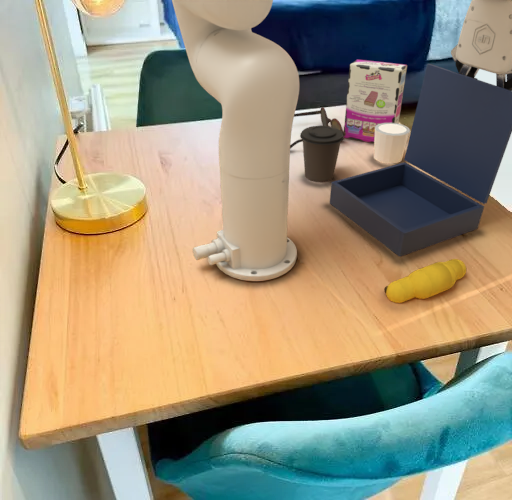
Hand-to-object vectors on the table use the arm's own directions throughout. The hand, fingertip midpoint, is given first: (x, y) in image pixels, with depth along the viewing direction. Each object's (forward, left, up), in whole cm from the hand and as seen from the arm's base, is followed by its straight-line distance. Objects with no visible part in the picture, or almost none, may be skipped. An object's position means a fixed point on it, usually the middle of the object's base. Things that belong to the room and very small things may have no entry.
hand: (478, 108), depth 81 cm
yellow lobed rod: (-23, -17, -17) cm, 33 cm away
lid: (-4, 0, -3) cm, 5 cm away
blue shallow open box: (-13, 0, -17) cm, 21 cm away
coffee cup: (-17, +19, -17) cm, 31 cm away
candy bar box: (+4, +30, -17) cm, 35 cm away
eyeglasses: (-9, +38, -17) cm, 43 cm away
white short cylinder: (0, +19, -17) cm, 26 cm away
